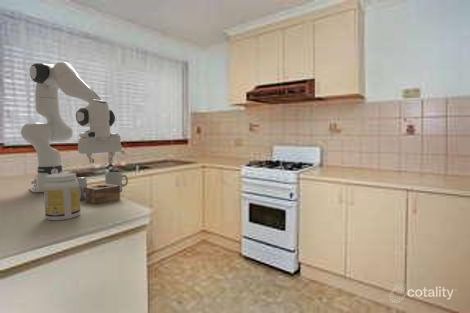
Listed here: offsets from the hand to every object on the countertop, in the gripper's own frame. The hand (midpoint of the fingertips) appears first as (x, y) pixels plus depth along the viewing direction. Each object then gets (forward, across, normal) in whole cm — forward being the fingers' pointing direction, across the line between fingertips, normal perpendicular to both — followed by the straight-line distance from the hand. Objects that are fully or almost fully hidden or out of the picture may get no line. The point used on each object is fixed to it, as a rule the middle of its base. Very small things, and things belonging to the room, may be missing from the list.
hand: (101, 161), depth 141 cm
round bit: (+19, +5, -10) cm, 22 cm away
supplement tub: (+19, +24, +14) cm, 34 cm away
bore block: (+19, 0, 0) cm, 19 cm away
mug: (+19, -16, -14) cm, 29 cm away
